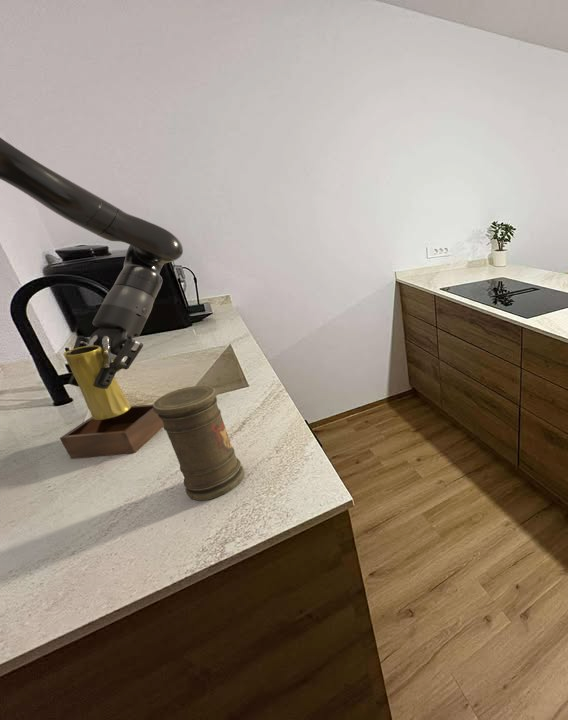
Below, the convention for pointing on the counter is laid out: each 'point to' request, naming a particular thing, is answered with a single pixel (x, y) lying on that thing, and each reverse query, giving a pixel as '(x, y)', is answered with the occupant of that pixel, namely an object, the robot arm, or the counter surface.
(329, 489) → the counter surface
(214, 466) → the container
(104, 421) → the tray
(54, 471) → the counter surface
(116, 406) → the vase
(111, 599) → the counter surface
